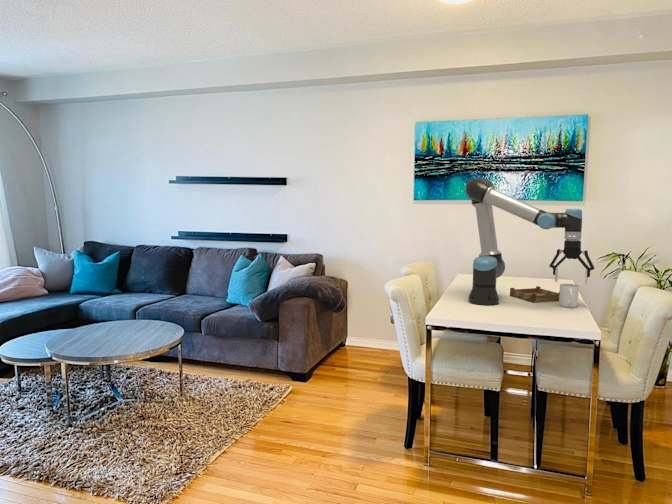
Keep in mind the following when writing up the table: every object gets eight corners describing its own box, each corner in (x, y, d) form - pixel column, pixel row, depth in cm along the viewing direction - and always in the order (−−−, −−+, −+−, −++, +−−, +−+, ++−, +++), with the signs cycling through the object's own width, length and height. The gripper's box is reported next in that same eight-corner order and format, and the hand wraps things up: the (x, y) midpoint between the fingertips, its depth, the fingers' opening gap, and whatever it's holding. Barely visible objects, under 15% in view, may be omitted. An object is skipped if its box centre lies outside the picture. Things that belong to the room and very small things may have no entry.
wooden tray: (509, 295, 286) (510, 287, 285) (538, 294, 292) (538, 286, 292) (533, 302, 268) (533, 294, 267) (562, 300, 274) (563, 292, 274)
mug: (561, 308, 254) (562, 287, 253) (557, 303, 266) (558, 283, 265) (580, 310, 252) (581, 288, 251) (575, 305, 263) (577, 284, 262)
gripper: (544, 239, 258) (542, 281, 261) (600, 241, 246) (598, 285, 248) (546, 238, 265) (545, 279, 267) (601, 240, 252) (599, 283, 254)
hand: (570, 282), depth 257 cm, fingers open, 13 cm apart
